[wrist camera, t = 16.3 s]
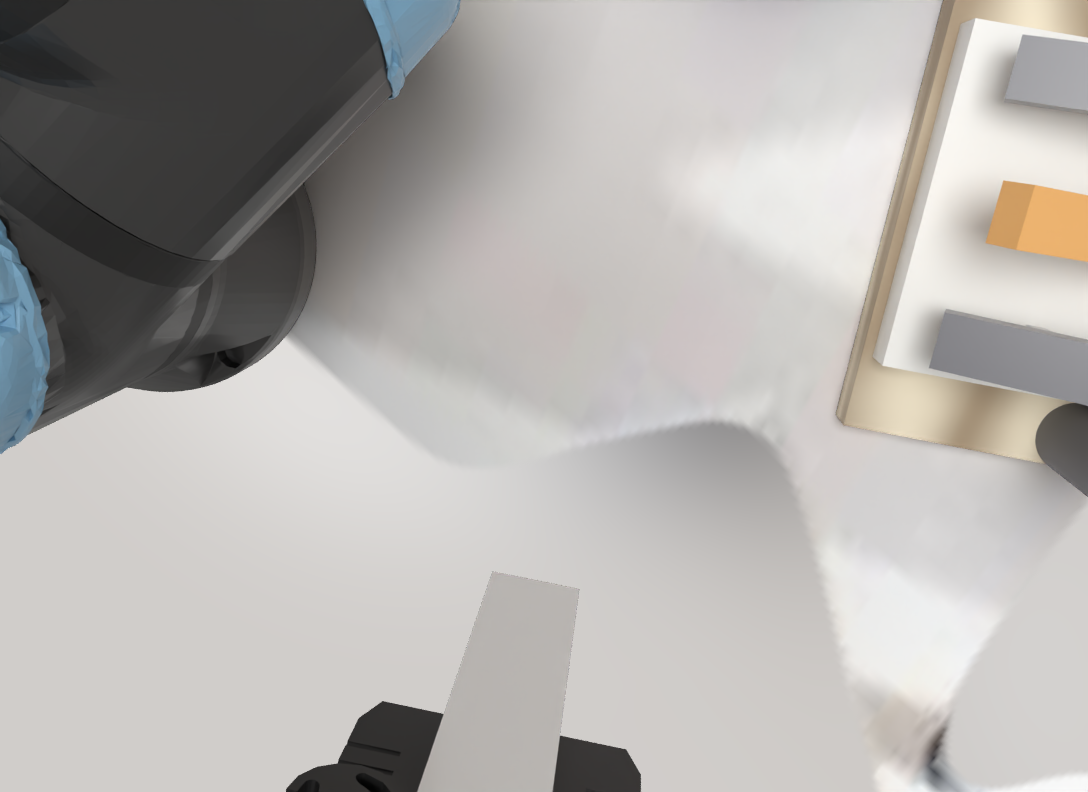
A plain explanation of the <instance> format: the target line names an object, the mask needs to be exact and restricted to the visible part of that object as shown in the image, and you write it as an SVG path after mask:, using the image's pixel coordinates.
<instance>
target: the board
mask: <svg viewBox="0 0 1088 792" xmlns="http://www.w3.org/2000/svg"><path fill="white" fill-rule="evenodd" d="M975 18H978V19H984V20H989V21H995V22H1001V23H1006V24H1012V25H1018V26H1024V27H1029V28H1035V29H1041V30H1046V31H1052V32H1058V33H1064V34H1069V35H1075V36H1081V37H1087V38H1088V0H943V3H942V7H941V11H940V15H939V18H938V22H937V26H936V30H935V34H934V38H933V42H932V45H931V49H930V53H929V57H928V61H927V65H926V68H925V72H924V76H923V80H922V84H921V88H920V92H919V95H918V99H917V103H916V107H915V111H914V115H913V119H912V122H911V126H910V130H909V134H908V138H907V142H906V146H905V149H904V153H903V157H902V161H901V165H900V169H899V172H898V176H897V180H896V184H895V188H894V192H893V196H892V199H891V203H890V207H889V211H888V215H887V219H886V223H885V226H884V230H883V234H882V238H881V242H880V246H879V249H878V253H877V257H876V261H875V265H874V269H873V273H872V276H871V280H870V284H869V288H868V292H867V296H866V300H865V303H864V307H863V311H862V315H861V319H860V323H859V327H858V330H857V334H856V338H855V342H854V346H853V350H852V353H851V357H850V361H849V365H848V369H847V373H846V377H845V380H844V384H843V388H842V392H841V396H840V400H839V404H838V407H837V411H836V415H837V417H838V418H839V420H840V421H841V422H842V424H843V425H846V426H851V427H856V428H861V429H866V430H872V431H877V432H882V433H887V434H892V435H897V436H903V437H908V438H913V439H918V440H923V441H929V442H934V443H939V444H944V445H949V446H954V447H960V448H965V449H970V450H975V451H980V452H985V453H991V454H996V455H1001V456H1006V457H1011V458H1017V459H1022V460H1027V461H1032V462H1037V463H1042V464H1046V463H1045V462H1044V461H1043V460H1042V459H1041V458H1040V456H1039V454H1038V452H1037V449H1036V444H1035V438H1036V432H1037V429H1038V426H1039V425H1040V423H1041V421H1042V420H1043V419H1044V417H1045V416H1046V415H1047V414H1048V413H1050V412H1051V411H1052V410H1054V409H1055V408H1057V407H1059V406H1062V405H1065V404H1069V403H1074V402H1069V401H1065V400H1060V399H1055V398H1049V397H1044V396H1039V395H1034V394H1028V393H1023V392H1018V391H1013V390H1007V389H1002V388H997V387H992V386H986V385H981V384H976V383H971V382H965V381H960V380H955V379H950V378H944V377H939V376H934V375H929V374H923V373H918V372H913V371H908V370H902V369H897V368H892V367H887V366H882V365H881V364H880V363H879V362H878V361H877V360H876V359H874V358H873V353H874V349H875V346H876V342H877V338H878V334H879V331H880V327H881V323H882V319H883V315H884V312H885V308H886V304H887V300H888V297H889V293H890V289H891V285H892V282H893V278H894V274H895V270H896V266H897V263H898V259H899V255H900V251H901V248H902V244H903V240H904V236H905V233H906V229H907V225H908V221H909V217H910V214H911V210H912V206H913V202H914V199H915V195H916V191H917V187H918V184H919V180H920V176H921V172H922V168H923V165H924V161H925V157H926V153H927V150H928V146H929V142H930V138H931V135H932V131H933V127H934V123H935V119H936V116H937V112H938V108H939V104H940V101H941V97H942V93H943V89H944V86H945V82H946V78H947V74H948V70H949V67H950V63H951V59H952V55H953V52H954V48H955V44H956V40H957V37H958V33H959V29H960V25H961V23H964V22H967V21H969V20H972V19H975Z"/></svg>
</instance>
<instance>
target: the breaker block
mask: <svg viewBox="0 0 1088 792" xmlns="http://www.w3.org/2000/svg"><path fill="white" fill-rule="evenodd" d="M1022 34H1024V35H1031V36H1039V37H1047V38H1055V39H1063V40H1071V41H1079V42H1087V43H1088V38H1087V37H1081V36H1075V35H1069V34H1064V33H1058V32H1052V31H1046V30H1041V29H1035V28H1029V27H1024V26H1018V25H1012V24H1006V23H1001V22H995V21H989V20H984V19H978V18H975V19H972V20H969V21H967V22H964V23H961V25H960V29H959V33H958V37H957V40H956V44H955V48H954V52H953V55H952V59H951V63H950V67H949V70H948V74H947V78H946V82H945V86H944V89H943V93H942V97H941V101H940V104H939V108H938V112H937V116H936V119H935V123H934V127H933V131H932V135H931V138H930V142H929V146H928V150H927V153H926V157H925V161H924V165H923V168H922V172H921V176H920V180H919V184H918V187H917V191H916V195H915V199H914V202H913V206H912V210H911V214H910V217H909V221H908V225H907V229H906V233H905V236H904V240H903V244H902V248H901V251H900V255H899V259H898V263H897V266H896V270H895V274H894V278H893V282H892V285H891V289H890V293H889V297H888V300H887V304H886V308H885V312H884V315H883V319H882V323H881V327H880V331H879V334H878V338H877V342H876V346H875V349H874V353H873V358H874V359H876V360H877V361H878V362H879V363H880V364H881V365H882V366H887V367H892V368H897V369H902V370H908V371H913V372H918V373H923V374H929V375H934V376H939V377H944V378H950V379H955V380H960V381H965V382H971V383H976V384H981V385H986V386H992V387H997V388H1002V389H1007V390H1013V391H1018V392H1023V393H1028V394H1034V395H1039V396H1044V395H1040V394H1036V393H1032V392H1027V391H1023V390H1019V389H1015V388H1011V387H1006V386H1002V385H998V384H994V383H990V382H985V381H981V380H977V379H973V378H969V377H964V376H960V375H956V374H952V373H948V372H943V371H939V370H935V369H931V368H929V366H930V362H931V359H932V355H933V352H934V348H935V345H936V341H937V337H938V334H939V330H940V327H941V323H942V320H943V316H944V312H945V309H949V310H954V311H959V312H963V313H968V314H972V315H977V316H982V317H986V318H991V319H995V320H1000V321H1005V322H1009V323H1014V324H1018V325H1023V326H1028V327H1032V328H1037V329H1041V330H1046V331H1051V332H1055V333H1060V334H1064V335H1069V336H1074V337H1078V338H1083V339H1087V340H1088V262H1085V261H1079V260H1073V259H1067V258H1061V257H1055V256H1049V255H1043V254H1037V253H1031V252H1025V251H1019V250H1014V249H1009V248H1005V247H1000V246H996V245H992V244H987V243H986V239H987V236H988V232H989V229H990V225H991V222H992V218H993V215H994V211H995V208H996V204H997V201H998V197H999V194H1000V190H1001V187H1002V183H1003V180H1004V181H1011V182H1018V183H1025V184H1032V185H1038V186H1043V187H1048V188H1053V189H1058V190H1063V191H1068V192H1073V193H1078V194H1083V195H1088V115H1087V114H1081V113H1074V112H1067V111H1060V110H1054V109H1047V108H1040V107H1033V106H1027V105H1020V104H1013V103H1006V102H1004V99H1005V95H1006V91H1007V88H1008V84H1009V81H1010V77H1011V74H1012V70H1013V67H1014V63H1015V59H1016V56H1017V52H1018V49H1019V45H1020V42H1021V38H1022ZM1044 397H1048V396H1044ZM1049 398H1053V397H1049ZM1055 399H1057V398H1055ZM1060 400H1061V399H1060Z"/></svg>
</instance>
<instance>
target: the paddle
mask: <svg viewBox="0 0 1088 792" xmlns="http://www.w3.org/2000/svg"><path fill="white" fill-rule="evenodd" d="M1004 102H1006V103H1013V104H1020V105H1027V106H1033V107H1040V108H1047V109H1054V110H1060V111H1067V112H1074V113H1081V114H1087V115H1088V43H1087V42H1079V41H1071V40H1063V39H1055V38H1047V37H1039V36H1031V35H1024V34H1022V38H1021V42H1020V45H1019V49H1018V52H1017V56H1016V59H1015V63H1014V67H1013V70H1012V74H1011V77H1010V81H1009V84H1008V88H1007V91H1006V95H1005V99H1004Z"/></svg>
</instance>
